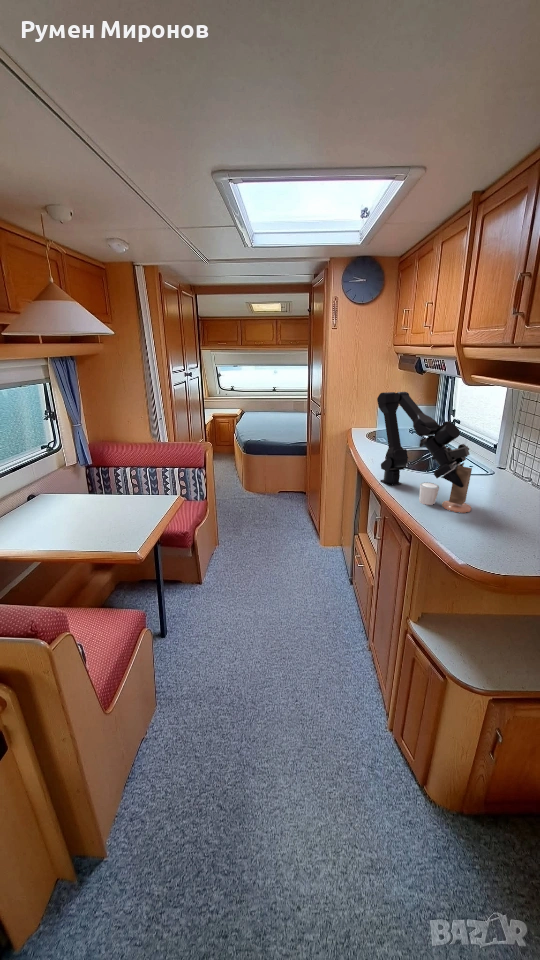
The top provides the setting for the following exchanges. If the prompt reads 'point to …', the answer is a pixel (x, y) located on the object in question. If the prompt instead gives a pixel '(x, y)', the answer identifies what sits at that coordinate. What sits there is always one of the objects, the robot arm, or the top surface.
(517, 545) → the top surface
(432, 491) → the white short cylinder
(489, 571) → the top surface
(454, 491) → the walnut block
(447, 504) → the orange flat disc
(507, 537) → the top surface
